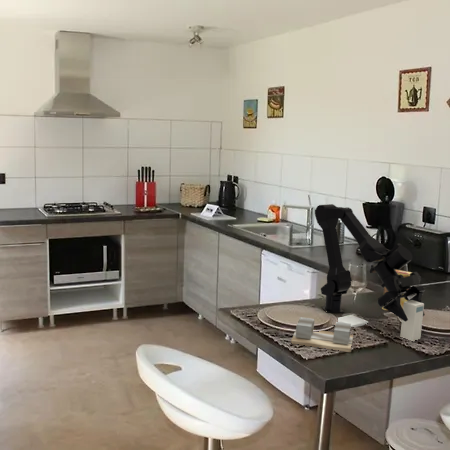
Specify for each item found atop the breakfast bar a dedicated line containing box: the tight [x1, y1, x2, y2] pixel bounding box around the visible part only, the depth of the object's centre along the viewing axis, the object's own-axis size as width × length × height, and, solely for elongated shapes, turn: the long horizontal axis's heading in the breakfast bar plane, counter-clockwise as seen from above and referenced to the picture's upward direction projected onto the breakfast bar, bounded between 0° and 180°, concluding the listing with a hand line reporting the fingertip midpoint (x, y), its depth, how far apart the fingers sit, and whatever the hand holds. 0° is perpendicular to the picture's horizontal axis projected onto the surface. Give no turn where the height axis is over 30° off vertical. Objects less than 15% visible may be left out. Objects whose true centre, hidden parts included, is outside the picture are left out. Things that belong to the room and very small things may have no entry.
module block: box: [399, 300, 425, 342], centre depth 190 cm, size 5×4×12 cm
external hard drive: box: [337, 314, 369, 328], centre depth 203 cm, size 2×8×12 cm
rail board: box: [290, 316, 354, 353], centre depth 185 cm, size 13×18×5 cm
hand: (415, 318), depth 189 cm, fingers open, 9 cm apart
